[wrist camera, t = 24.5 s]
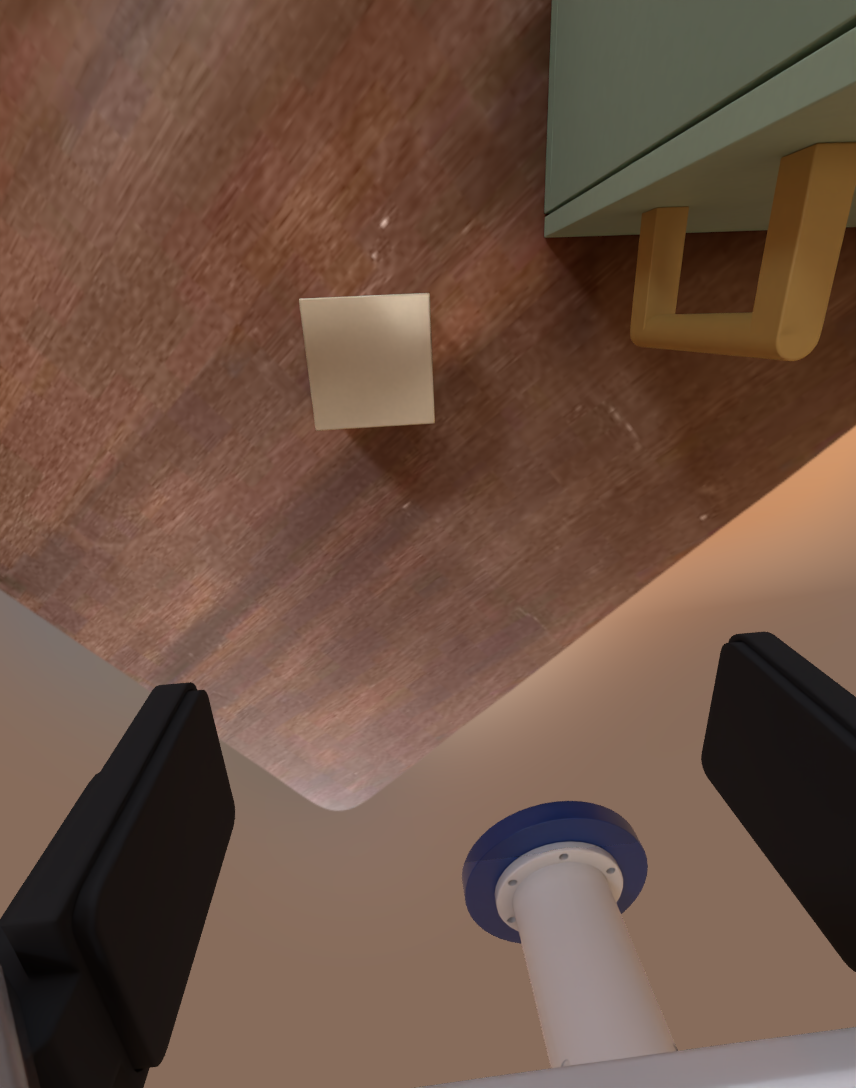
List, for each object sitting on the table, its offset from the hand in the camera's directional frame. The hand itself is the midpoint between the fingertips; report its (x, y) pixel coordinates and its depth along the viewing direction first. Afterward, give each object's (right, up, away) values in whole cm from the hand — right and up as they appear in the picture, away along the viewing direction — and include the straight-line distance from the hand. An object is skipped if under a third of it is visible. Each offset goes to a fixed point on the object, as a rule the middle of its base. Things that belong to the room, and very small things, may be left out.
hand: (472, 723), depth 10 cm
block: (-4, +14, +21) cm, 26 cm away
